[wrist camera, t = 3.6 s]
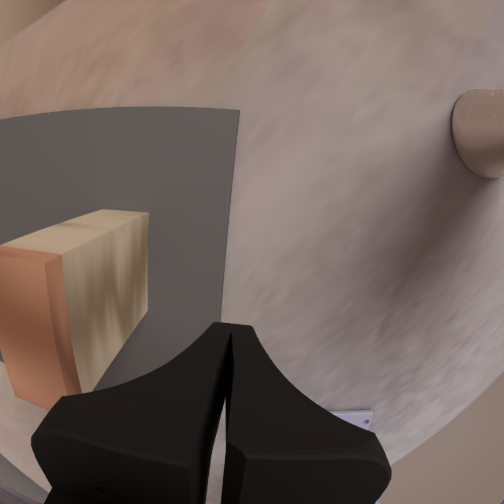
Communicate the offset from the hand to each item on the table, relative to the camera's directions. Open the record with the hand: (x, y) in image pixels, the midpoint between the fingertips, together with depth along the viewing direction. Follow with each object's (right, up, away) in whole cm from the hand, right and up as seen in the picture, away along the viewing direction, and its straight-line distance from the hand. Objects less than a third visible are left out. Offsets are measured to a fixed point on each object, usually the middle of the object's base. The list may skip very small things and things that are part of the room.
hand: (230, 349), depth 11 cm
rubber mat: (-11, +2, +8) cm, 14 cm away
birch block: (-7, +3, +8) cm, 11 cm away
